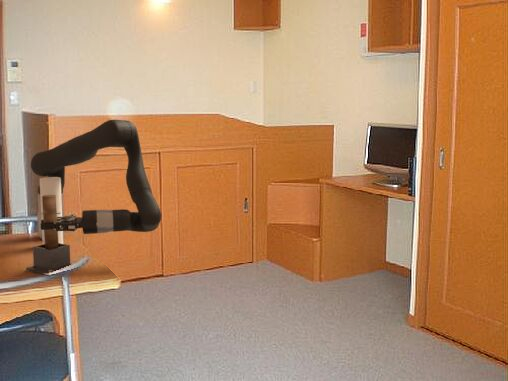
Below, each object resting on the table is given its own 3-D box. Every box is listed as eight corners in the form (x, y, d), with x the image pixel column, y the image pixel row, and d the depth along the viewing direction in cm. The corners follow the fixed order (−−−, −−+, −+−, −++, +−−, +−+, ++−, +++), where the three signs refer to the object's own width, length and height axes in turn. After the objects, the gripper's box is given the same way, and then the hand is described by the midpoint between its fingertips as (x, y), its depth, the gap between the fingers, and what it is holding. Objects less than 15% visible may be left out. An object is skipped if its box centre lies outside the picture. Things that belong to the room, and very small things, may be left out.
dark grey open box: (26, 270, 191) (25, 247, 190) (54, 262, 200) (53, 240, 199) (50, 276, 185) (49, 251, 184) (77, 267, 194) (77, 244, 193)
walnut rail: (43, 259, 191) (39, 196, 188) (53, 256, 195) (49, 194, 192) (51, 260, 189) (48, 197, 186) (61, 257, 193) (58, 195, 190)
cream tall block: (38, 247, 220) (35, 178, 216) (53, 243, 226) (50, 176, 222) (52, 250, 216) (49, 180, 213) (67, 245, 223) (65, 177, 219)
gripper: (96, 206, 201) (41, 208, 196) (98, 214, 187) (39, 217, 182) (97, 228, 202) (42, 231, 197) (99, 237, 188) (40, 241, 183)
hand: (41, 224), depth 189 cm, fingers closed on walnut rail, 4 cm apart
